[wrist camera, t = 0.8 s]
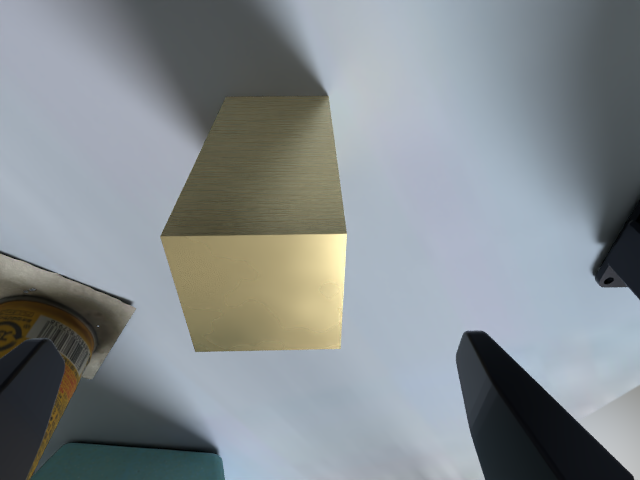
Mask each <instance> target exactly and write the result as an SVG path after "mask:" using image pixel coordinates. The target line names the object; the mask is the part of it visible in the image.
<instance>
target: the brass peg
mask: <svg viewBox="0 0 640 480" xmlns="http://www.w3.org/2000/svg"><path fill="white" fill-rule="evenodd" d="M160 237H161V240H162V244H163V247H164V250H165V254H166V257H167V260H168V263H169V267H170V270H171V273H172V277H173V280H174V283H175V286H176V290H177V293H178V296H179V300H180V303H181V306H182V309H183V313H184V316H185V319H186V323H187V326H188V329H189V332H190V336H191V339H192V342H193V346H194V349H195V352H211V351H259V350H306V349H340V347H341V329H342V311H343V292H344V274H345V256H346V238H347V232H346V225H345V217H344V210H343V202H342V195H341V187H340V180H339V172H338V165H337V157H336V149H335V142H334V134H333V127H332V119H331V112H330V104H329V97H328V96H238V97H226V98H225V100H224V102H223V104H222V106H221V109H220V111H219V113H218V115H217V117H216V119H215V121H214V123H213V126H212V128H211V130H210V132H209V134H208V136H207V138H206V140H205V143H204V145H203V147H202V149H201V151H200V153H199V155H198V157H197V160H196V162H195V164H194V166H193V168H192V170H191V172H190V175H189V177H188V179H187V181H186V183H185V185H184V187H183V189H182V192H181V194H180V196H179V198H178V200H177V202H176V204H175V206H174V209H173V211H172V213H171V215H170V217H169V219H168V221H167V223H166V226H165V228H164V230H163V232H162V234H161V236H160Z"/></svg>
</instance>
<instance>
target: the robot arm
mask: <svg viewBox="0 0 640 480" xmlns="http://www.w3.org/2000/svg"><path fill="white" fill-rule="evenodd" d="M595 281H596V282H597V283H598V284H599V285H600V286H601V287H629V289H630V290H631V291H632V292H633V293H634V294H635V295H636V296H637V297H638V299H639V300H640V200H639V202H638V203H637V205H636V207H635V209H634V210H633V212H632V214H631V216H630V217H629V219H628V221H627V222H626V224H625V226H624V228H623V229H622V231H621V233H620V235H619V236H618V238H617V240H616V241H615V243H614V245H613V247H612V248H611V250H610V252H609V254H608V255H607V257H606V259H605V260H604V262H603V264H602V266H601V267H600V269H599V271H598V273H597V274H596V276H595ZM456 364H457V369H458V374H459V379H460V384H461V389H462V394H463V399H464V404H465V409H466V414H467V419H468V424H469V428H470V432H471V436H472V439H473V443H474V446H475V449H476V452H477V455H478V458H479V462H480V465H481V468H482V471H483V474H484V477H485V480H634V477H633V476H632V474H631V473H630V472H629V471H627V469H625V468H624V467H623V466H622V465H621V464H620V463H619V462H618V461H617V460H616V459H615V458H614V457H613V456H612V455H611V454H610V453H609V452H608V451H607V450H606V449H605V448H604V447H603V446H602V445H601V444H600V443H599V442H598V441H597V440H596V439H595V438H594V437H593V436H592V435H590V433H589V432H587V431H586V430H585V429H584V428H583V427H582V426H581V425H580V424H579V423H578V422H577V421H576V420H575V419H574V418H573V417H572V416H571V415H570V414H569V413H568V412H567V411H566V410H565V409H564V408H563V407H562V406H561V405H560V404H559V403H558V402H557V401H556V400H555V399H554V398H553V397H552V396H551V395H550V394H548V393H547V392H546V391H545V390H544V389H543V388H542V387H541V386H540V385H539V384H538V383H537V382H536V381H535V380H534V379H533V378H532V377H531V376H530V375H529V374H528V373H527V372H526V371H525V370H524V369H523V368H522V367H521V366H520V365H519V364H518V363H517V362H516V361H515V360H514V359H513V358H512V357H510V356H509V355H508V354H507V353H506V352H505V351H504V350H503V349H502V348H501V347H500V346H499V345H498V344H497V343H496V342H495V341H494V340H493V339H492V338H491V337H490V336H489V335H488V334H487V333H485V332H484V331H466V332H464V333H463V336H462V338H461V341H460V344H459V347H458V350H457V354H456ZM64 371H65V361H64V359H63V357H62V356H61V354H60V353H59V351H58V350H57V348H56V346H55V345H54V343H53V342H52V341H51V340H50V339H48V338H32V339H27V340H25V341H24V342H22V343H21V344H19V345H18V346H17V347H15V348H14V349H13V350H11V351H10V352H9V353H7V354H6V355H5V356H3V357H2V358H1V359H0V480H26V479H27V476H28V474H29V472H30V469H31V467H32V465H33V462H34V460H35V458H36V455H37V453H38V451H39V448H40V446H41V443H42V441H43V438H44V435H45V432H46V429H47V426H48V423H49V420H50V417H51V413H52V410H53V407H54V404H55V401H56V397H57V394H58V391H59V388H60V385H61V381H62V378H63V375H64Z"/></svg>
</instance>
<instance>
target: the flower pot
mask: <svg viewBox="0 0 640 480" xmlns="http://www.w3.org/2000/svg"><path fill="white" fill-rule="evenodd" d="M30 480H225V477H224V469H223V462H222V458H221V457H220V456H219V455H217V454H213V453H203V452H189V451H177V450H165V449H149V448H136V447H122V446H109V445H97V444H83V443H68V444H65V445H63V446H62V447H61V448H60V449H59V450H58V451H57V452H56V453H55V454H54V455H53V456H52V457H51V458H50V459H49V460H48V461H47V462H46V463H45V464H44V465H43V466H42V467H41V468H40V469H39V470H38V471H37V472H36V473H35V474H34V475H33V476H32V477H31V478H30Z"/></svg>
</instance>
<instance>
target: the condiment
mask: <svg viewBox="0 0 640 480" xmlns="http://www.w3.org/2000/svg"><path fill="white" fill-rule="evenodd" d="M32 288H33V289H36V290H35V291H30V290H29V289H32ZM23 291H28V293H24V292H23ZM135 310H136V308H134V307H132V306H130V305H128V304H125V303H122V302H121V301H120V300H118V299H116V298H113V297H111V296H109V295H106V294H104V293H101V292H98V291H95V290H94V289H92V288H90V287H88V286H85V285H83V284H80V283H77V282H75V281H72V280H69V279H67V278H64V277H62V276H61V275H60V274H58V273H52V272H48V271H45V270H42V269H40V268H37V267H34V266H32V265H30V264H28V263H26V262H24V261H21V260H16V259H13V258H11V257H8V256H5V255H3V254H0V359H1V358H2V357H3V356H5V355H6V354H7V353H9V352H10V351H11V350H13V349H14V348H15V347H17V346H18V345H19V344H21V343H22V342H24V341H25V340H27V339H32V338H48V339H50V340H51V341H52V342H53V343H54V345H55V346H56V348H57V350H58V351H59V353H60V354H61V356H62V357H63V359H64V361H65V371H64V375H63V378H62V381H61V385H60V388H59V391H58V394H57V397H56V401H55V404H54V407H53V410H52V413H51V417H50V420H49V423H48V426H47V429H46V432H45V435H44V438H43V441H42V443H41V446H40V448H39V451H38V453H37V455H36V458H35V460H34V462H33V465H32V467H31V469H30V472H29V474H28V476H27V479H26V480H30V478H31V476H32V475H33V472H34V470H35V468H36V466H37V465H38V462H39V460H40V458H41V456H42V454H43V452H44V450H45V448H46V446H47V444H48V443H49V440H50V439H51V436H52V434H53V432H54V430H55V429H56V427H57V425H58V422H59V420H60V418H61V417H62V415H63V412H64V410H65V409H66V407H67V405H68V403H69V401H70V399H71V397H72V395H73V393H74V392H75V390H76V387H77V386H78V383H79V381H80V379H81V377H83V378H86V379H90V380H92V379H93V377H94V376H95V374H96V372H97V371H98V369H99V367H100V366H101V364H102V363H103V361H104V359H105V358H106V356H107V355H108V353H109V351H110V350H111V348H112V347H113V345H114V343H115V342H116V340H117V338H118V337H119V335H120V334H121V332H122V330H123V329H124V327H125V326H126V324H127V323H128V321H129V319H130V318H131V316H132V315H133V313H134V311H135ZM98 325H99V327H97V326H98Z"/></svg>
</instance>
